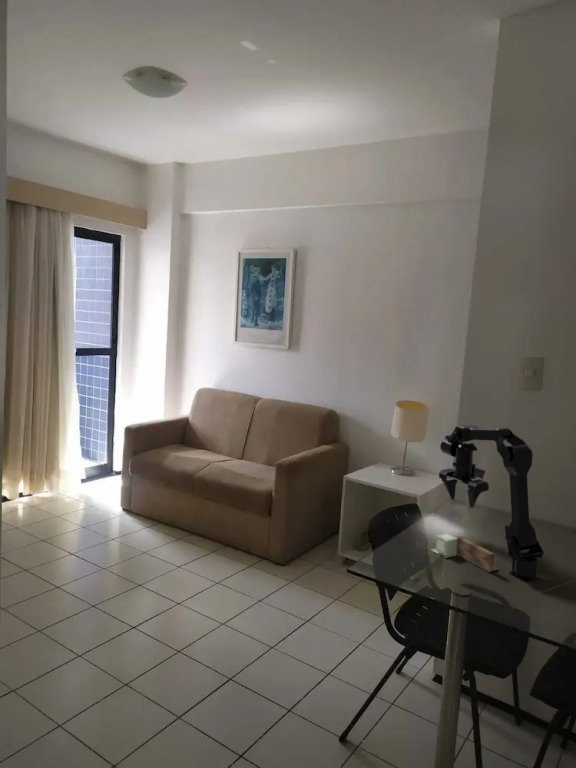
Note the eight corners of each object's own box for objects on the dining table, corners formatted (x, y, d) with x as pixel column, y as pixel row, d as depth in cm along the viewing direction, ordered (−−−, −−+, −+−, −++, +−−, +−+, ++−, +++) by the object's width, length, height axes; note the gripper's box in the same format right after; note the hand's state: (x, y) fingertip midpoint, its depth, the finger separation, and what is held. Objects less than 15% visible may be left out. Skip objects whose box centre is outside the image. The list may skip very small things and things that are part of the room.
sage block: (457, 552, 190) (458, 538, 189) (445, 555, 188) (446, 541, 187) (446, 546, 194) (447, 532, 194) (435, 550, 192) (435, 535, 191)
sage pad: (462, 554, 190) (462, 553, 190) (445, 559, 187) (445, 557, 187) (447, 546, 196) (447, 545, 196) (431, 550, 193) (431, 549, 193)
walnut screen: (498, 570, 179) (499, 552, 178) (488, 573, 177) (489, 554, 176) (465, 552, 191) (466, 535, 190) (456, 555, 189) (457, 537, 188)
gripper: (501, 464, 196) (499, 508, 198) (461, 451, 212) (460, 491, 215) (477, 469, 191) (475, 513, 193) (438, 455, 207) (437, 496, 210)
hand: (462, 503), depth 203 cm, fingers open, 9 cm apart
